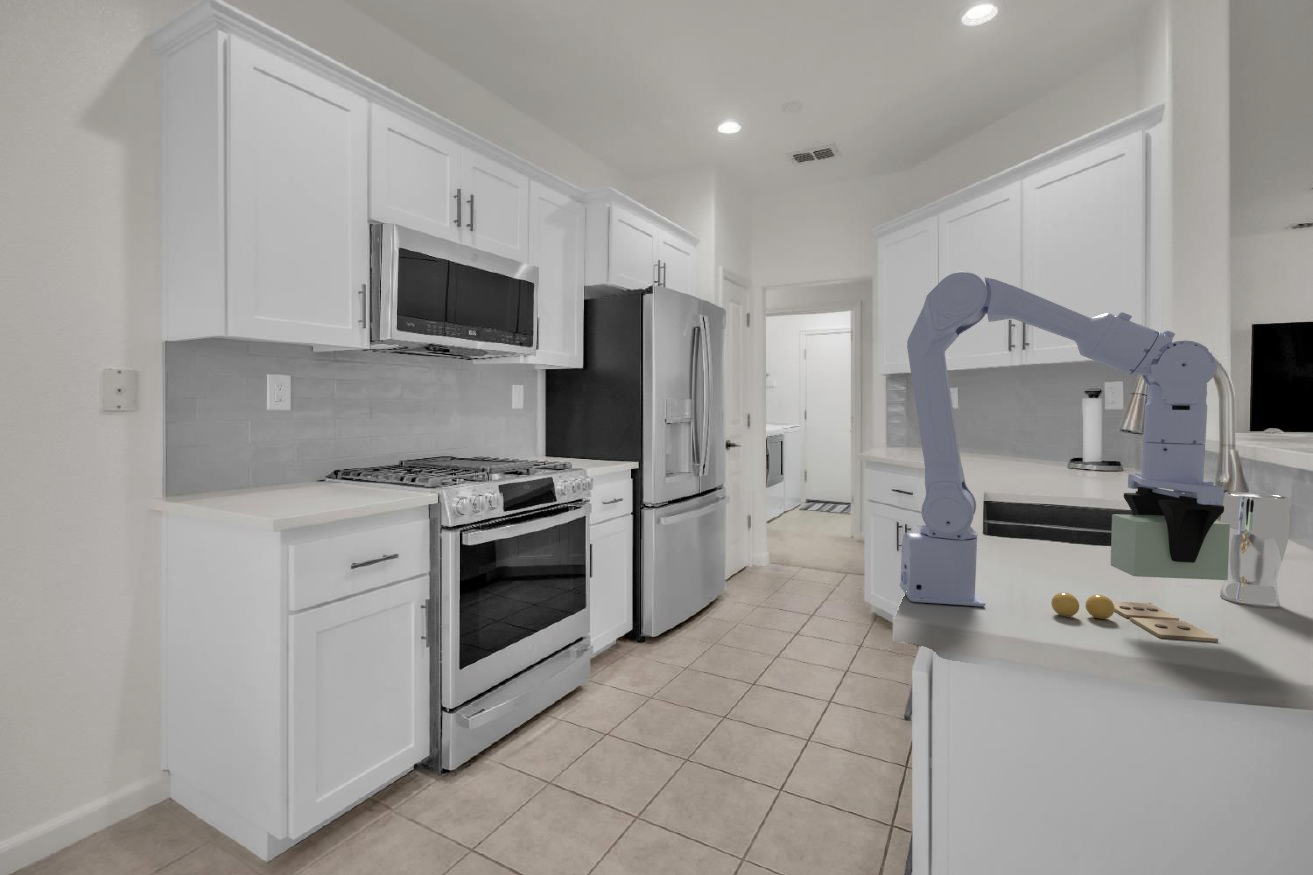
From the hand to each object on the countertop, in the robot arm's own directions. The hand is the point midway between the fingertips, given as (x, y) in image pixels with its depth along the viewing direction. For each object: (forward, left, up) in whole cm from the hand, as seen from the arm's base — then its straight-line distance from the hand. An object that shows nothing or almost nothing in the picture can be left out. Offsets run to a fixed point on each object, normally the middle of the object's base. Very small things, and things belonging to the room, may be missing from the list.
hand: (1167, 555), depth 75 cm
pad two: (+1, 0, -9) cm, 9 cm away
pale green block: (0, 0, -2) cm, 2 cm away
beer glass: (+19, +16, -9) cm, 26 cm away
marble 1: (-10, +3, -9) cm, 14 cm away
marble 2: (-6, +3, -9) cm, 11 cm away
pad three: (+1, +7, -9) cm, 11 cm away
